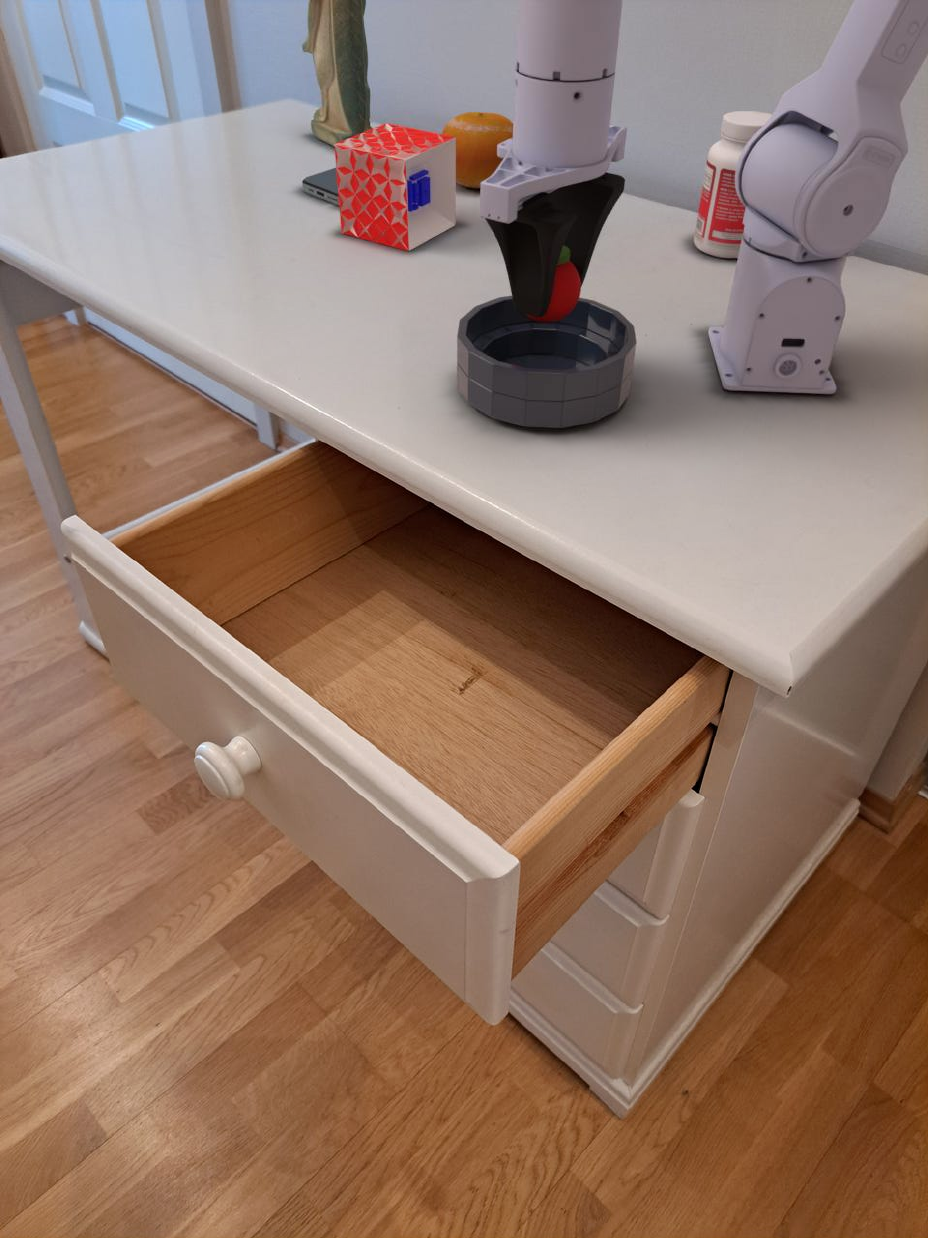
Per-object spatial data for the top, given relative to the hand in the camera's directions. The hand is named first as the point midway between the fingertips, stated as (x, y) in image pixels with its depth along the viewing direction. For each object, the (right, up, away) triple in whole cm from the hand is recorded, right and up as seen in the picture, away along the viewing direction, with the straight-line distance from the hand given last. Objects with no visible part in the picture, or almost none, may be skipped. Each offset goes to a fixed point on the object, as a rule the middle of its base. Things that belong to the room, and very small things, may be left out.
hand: (548, 299), depth 62 cm
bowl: (0, -5, +5) cm, 7 cm away
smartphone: (-15, +25, +37) cm, 47 cm away
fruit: (-4, +25, +37) cm, 45 cm away
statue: (-20, +36, +48) cm, 63 cm away
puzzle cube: (-12, +16, +27) cm, 34 cm away
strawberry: (0, -1, +1) cm, 1 cm away
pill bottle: (+19, +13, +24) cm, 34 cm away
